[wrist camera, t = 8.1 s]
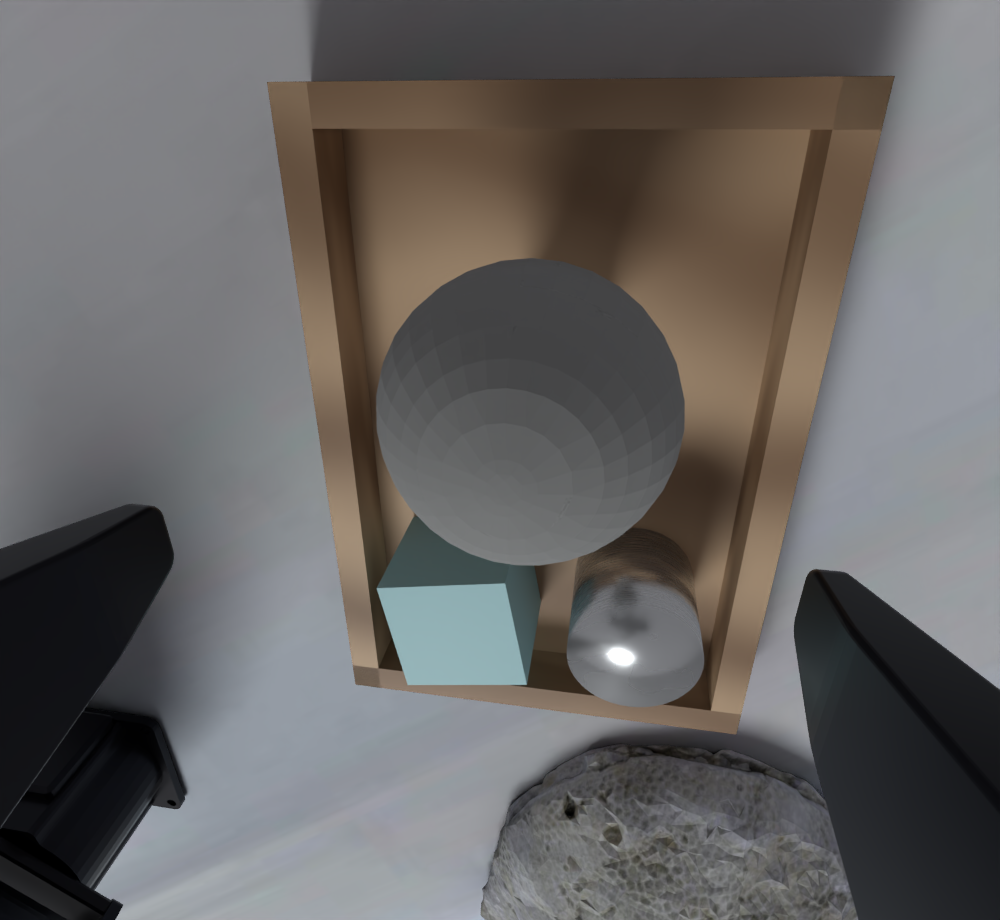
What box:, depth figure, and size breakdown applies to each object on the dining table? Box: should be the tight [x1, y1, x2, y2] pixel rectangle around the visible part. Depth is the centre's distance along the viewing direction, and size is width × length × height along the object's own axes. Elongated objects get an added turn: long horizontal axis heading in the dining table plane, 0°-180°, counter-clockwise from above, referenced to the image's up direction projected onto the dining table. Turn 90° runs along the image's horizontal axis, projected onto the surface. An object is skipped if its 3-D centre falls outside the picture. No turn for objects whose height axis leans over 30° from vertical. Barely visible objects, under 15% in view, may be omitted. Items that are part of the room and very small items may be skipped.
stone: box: [481, 744, 858, 920], centre depth 29 cm, size 18×8×15 cm
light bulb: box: [376, 258, 685, 566], centre depth 15 cm, size 6×6×10 cm
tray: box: [267, 76, 895, 734], centre depth 21 cm, size 20×14×2 cm
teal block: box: [377, 517, 541, 685], centre depth 22 cm, size 4×4×4 cm
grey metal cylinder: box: [567, 528, 704, 707], centre depth 21 cm, size 4×4×4 cm
